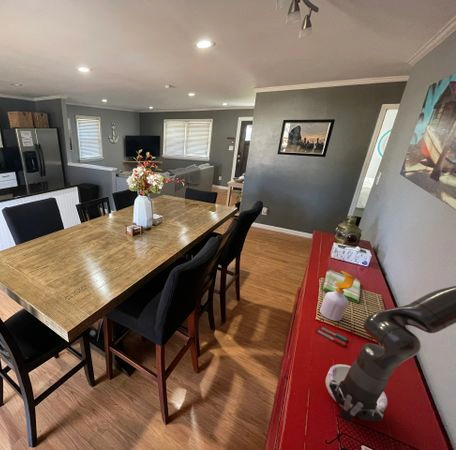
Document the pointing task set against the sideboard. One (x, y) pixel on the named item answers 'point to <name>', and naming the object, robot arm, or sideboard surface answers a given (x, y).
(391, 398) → the sideboard surface
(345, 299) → the soap bottle
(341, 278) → the dish towel
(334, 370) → the paper bowls
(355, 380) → the robot arm
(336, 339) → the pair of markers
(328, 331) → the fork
